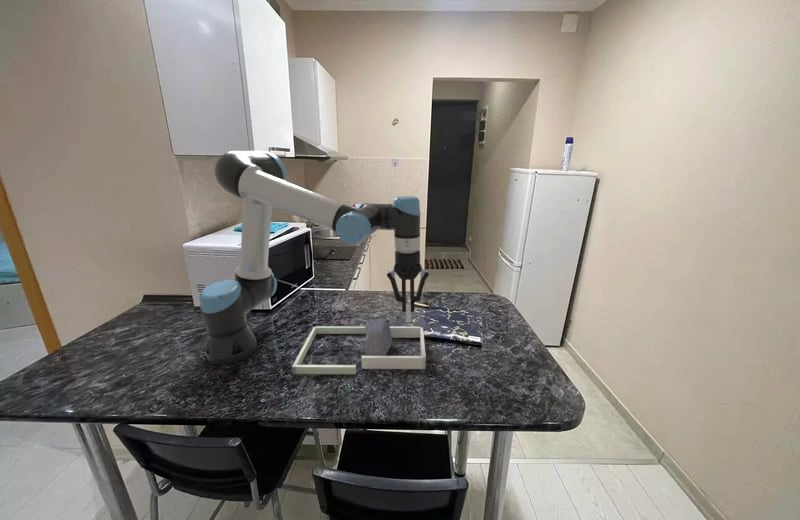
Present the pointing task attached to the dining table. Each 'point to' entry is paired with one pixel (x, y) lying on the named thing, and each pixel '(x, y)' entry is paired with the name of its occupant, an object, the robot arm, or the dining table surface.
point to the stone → (378, 337)
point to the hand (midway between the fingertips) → (408, 320)
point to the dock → (399, 361)
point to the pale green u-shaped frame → (325, 369)
